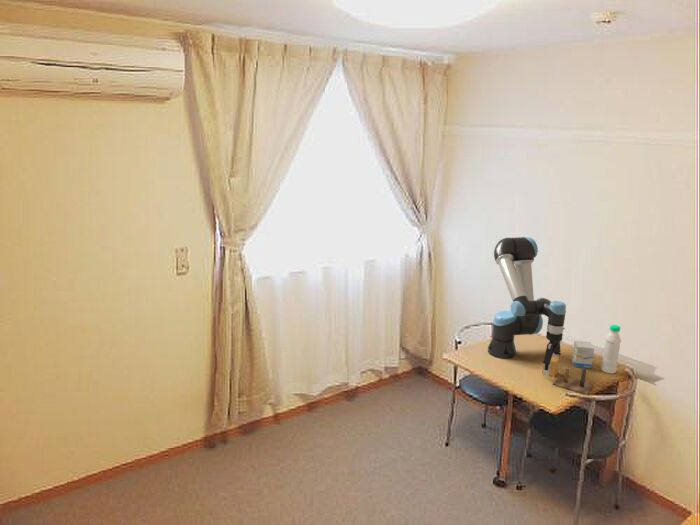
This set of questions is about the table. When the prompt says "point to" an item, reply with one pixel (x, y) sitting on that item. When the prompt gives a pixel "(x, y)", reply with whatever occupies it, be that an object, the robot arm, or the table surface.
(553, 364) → the orange rectangular block
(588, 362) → the ink box
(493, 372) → the table surface
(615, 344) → the water bottle
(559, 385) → the pigtail board
